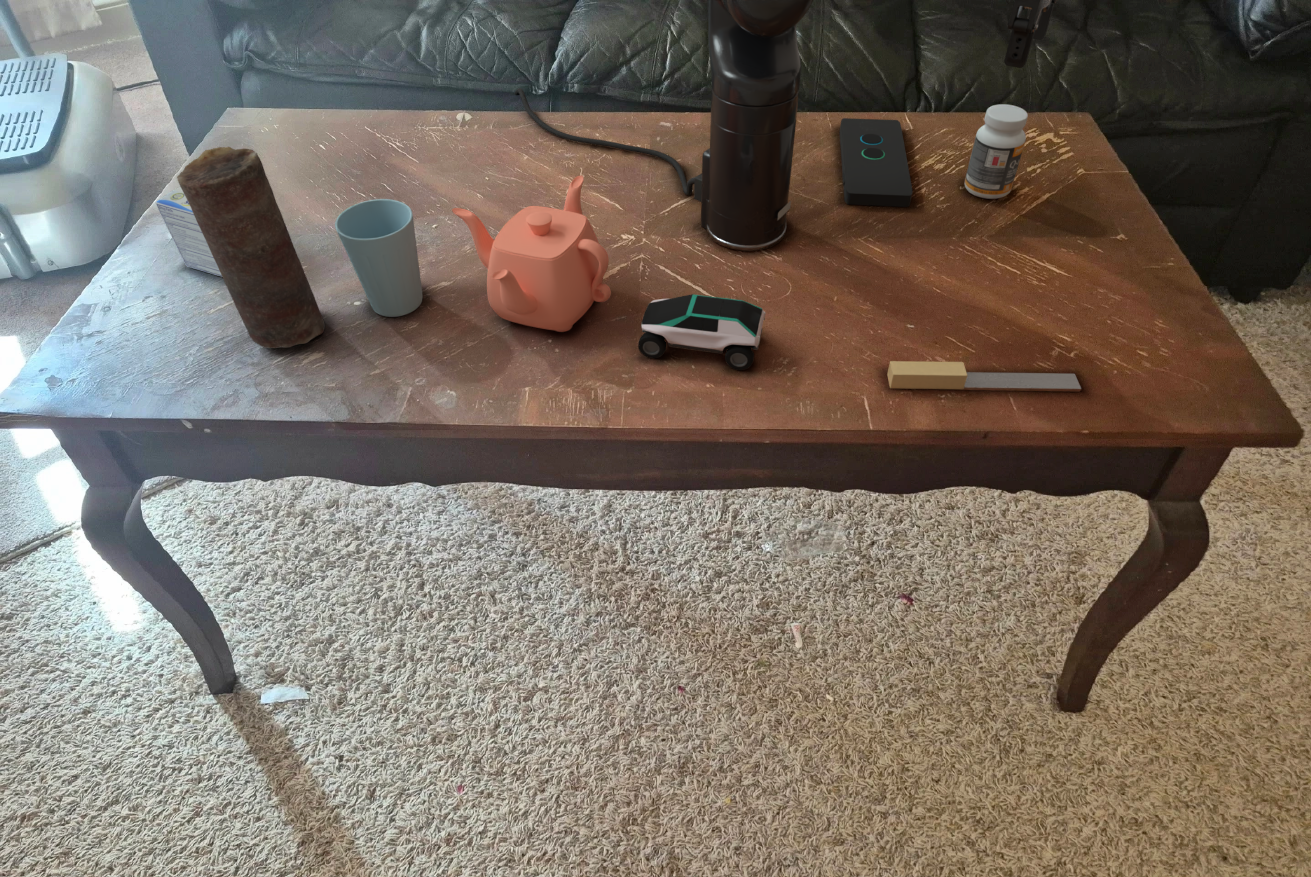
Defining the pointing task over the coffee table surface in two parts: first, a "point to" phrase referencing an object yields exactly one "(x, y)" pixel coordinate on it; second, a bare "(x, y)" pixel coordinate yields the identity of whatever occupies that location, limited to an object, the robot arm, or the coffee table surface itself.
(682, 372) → the coffee table surface
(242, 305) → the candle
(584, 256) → the teapot
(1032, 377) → the knife
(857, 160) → the smart home device
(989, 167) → the pill bottle
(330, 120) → the coffee table surface
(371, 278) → the cup
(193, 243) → the medicine box
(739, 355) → the toy car
